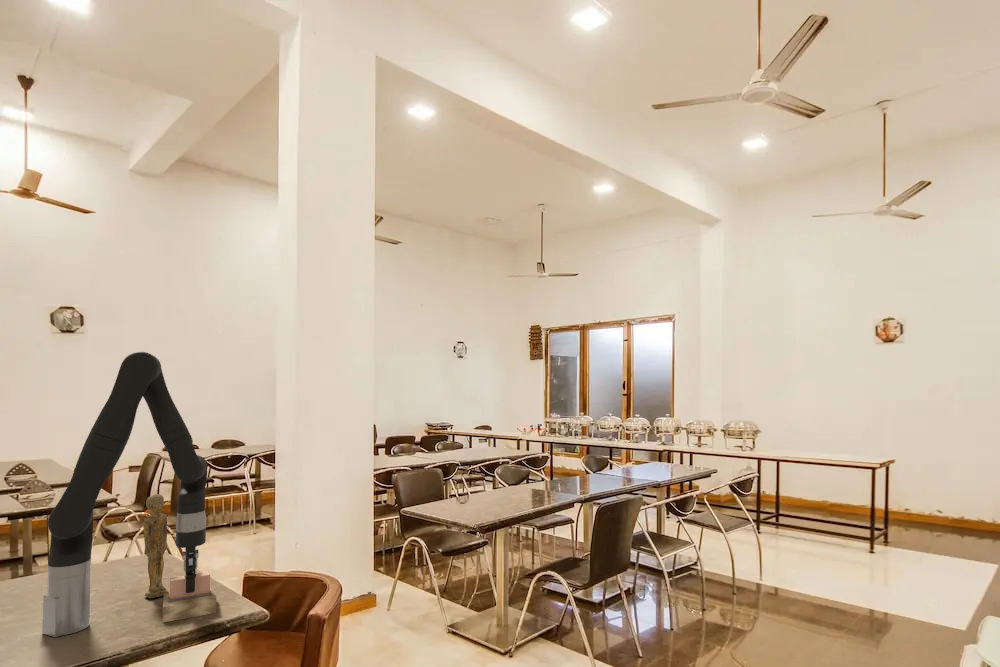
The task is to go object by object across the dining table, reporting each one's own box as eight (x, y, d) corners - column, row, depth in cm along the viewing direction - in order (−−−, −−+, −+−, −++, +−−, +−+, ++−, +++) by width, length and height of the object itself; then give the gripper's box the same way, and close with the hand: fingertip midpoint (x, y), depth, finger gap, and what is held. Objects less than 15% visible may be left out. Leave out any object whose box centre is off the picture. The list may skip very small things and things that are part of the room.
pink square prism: (169, 616, 166) (169, 580, 167) (169, 612, 169) (170, 577, 169) (209, 609, 171) (210, 574, 171) (209, 605, 173) (209, 571, 174)
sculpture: (148, 601, 177) (150, 497, 179) (138, 597, 181) (140, 495, 183) (172, 594, 182) (173, 493, 184) (162, 590, 186) (164, 491, 188)
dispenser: (162, 622, 162) (162, 604, 162) (163, 608, 171) (164, 591, 172) (216, 612, 168) (216, 595, 168) (214, 599, 177) (214, 583, 178)
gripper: (206, 531, 166) (205, 595, 165) (205, 520, 179) (204, 579, 178) (175, 535, 163) (174, 600, 162) (176, 524, 176) (175, 584, 175)
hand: (190, 589), depth 170 cm, fingers open, 5 cm apart
